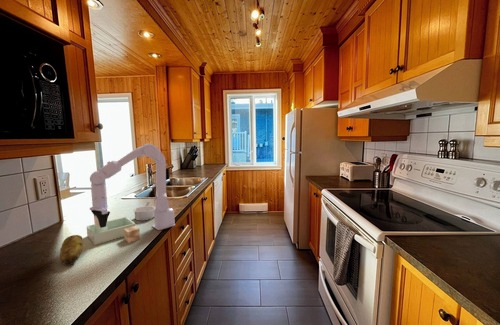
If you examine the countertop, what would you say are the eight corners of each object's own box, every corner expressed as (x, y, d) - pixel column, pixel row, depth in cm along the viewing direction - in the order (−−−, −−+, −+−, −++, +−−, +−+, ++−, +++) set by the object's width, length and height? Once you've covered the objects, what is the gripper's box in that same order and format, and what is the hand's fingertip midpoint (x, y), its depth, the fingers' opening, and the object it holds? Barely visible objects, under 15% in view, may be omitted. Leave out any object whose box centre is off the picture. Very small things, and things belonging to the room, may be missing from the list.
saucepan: (158, 209, 147) (158, 201, 147) (154, 220, 128) (154, 211, 127) (139, 211, 144) (138, 202, 143) (132, 222, 125) (131, 212, 124)
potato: (48, 269, 80) (46, 248, 80) (68, 251, 93) (67, 233, 92) (75, 266, 82) (73, 245, 81) (91, 249, 95) (90, 231, 94)
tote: (126, 225, 120) (125, 216, 119) (135, 233, 111) (135, 223, 110) (87, 236, 107) (86, 226, 107) (94, 245, 98) (93, 234, 98)
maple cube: (135, 235, 108) (135, 225, 108) (139, 239, 105) (139, 228, 104) (124, 239, 105) (123, 229, 104) (128, 242, 101) (127, 232, 101)
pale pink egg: (106, 226, 109) (105, 212, 108) (109, 229, 106) (108, 215, 105) (93, 229, 106) (92, 215, 105) (96, 233, 102) (95, 218, 101)
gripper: (85, 195, 106) (87, 223, 108) (93, 202, 96) (95, 232, 98) (102, 193, 111) (104, 219, 113) (111, 198, 101) (113, 227, 103)
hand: (101, 225), depth 106 cm, fingers closed on pale pink egg, 5 cm apart
